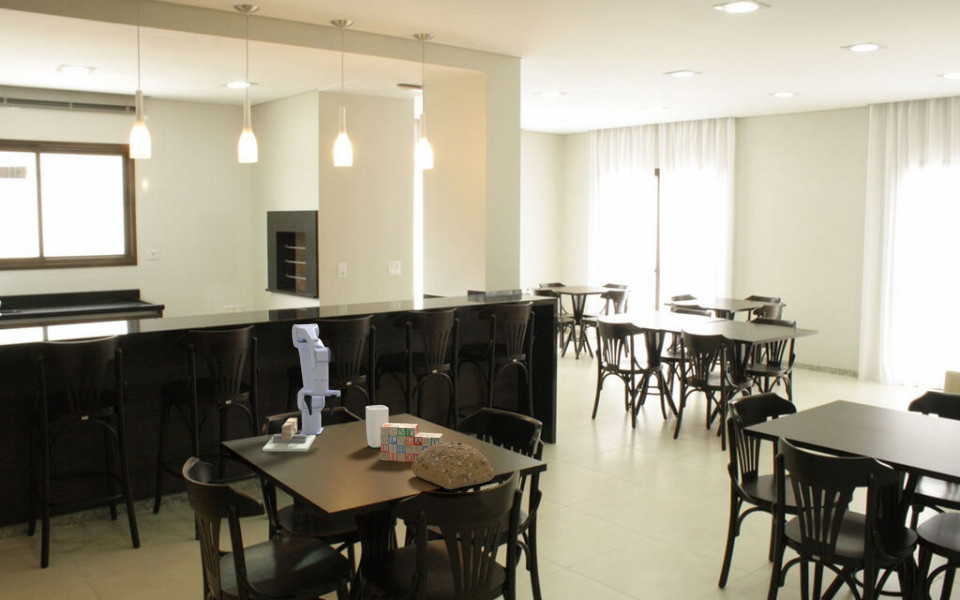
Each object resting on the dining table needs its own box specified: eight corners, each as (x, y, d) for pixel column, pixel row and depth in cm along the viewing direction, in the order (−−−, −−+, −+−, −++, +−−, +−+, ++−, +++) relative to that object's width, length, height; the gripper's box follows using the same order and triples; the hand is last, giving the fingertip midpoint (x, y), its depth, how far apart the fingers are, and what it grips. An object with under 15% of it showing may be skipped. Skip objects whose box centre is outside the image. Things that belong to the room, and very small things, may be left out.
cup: (371, 449, 299) (371, 410, 298) (364, 445, 305) (364, 406, 304) (389, 447, 302) (389, 408, 301) (382, 443, 309) (382, 404, 307)
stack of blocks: (443, 459, 288) (443, 425, 287) (439, 464, 282) (439, 429, 281) (385, 455, 292) (385, 422, 291) (380, 460, 286) (380, 426, 285)
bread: (404, 476, 267) (404, 441, 266) (455, 465, 280) (456, 431, 279) (448, 495, 248) (449, 457, 247) (501, 482, 262) (502, 446, 261)
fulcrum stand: (274, 437, 315) (274, 428, 315) (315, 437, 316) (315, 428, 315) (262, 451, 295) (262, 441, 295) (306, 451, 296) (306, 441, 295)
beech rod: (289, 430, 312) (289, 417, 311) (297, 430, 312) (297, 417, 312) (282, 439, 298) (282, 426, 298) (290, 439, 298) (290, 426, 298)
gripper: (299, 381, 303) (299, 417, 305) (338, 381, 304) (338, 417, 305) (302, 378, 311) (303, 413, 312) (340, 378, 311) (341, 413, 312)
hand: (320, 414), depth 309 cm, fingers open, 7 cm apart
